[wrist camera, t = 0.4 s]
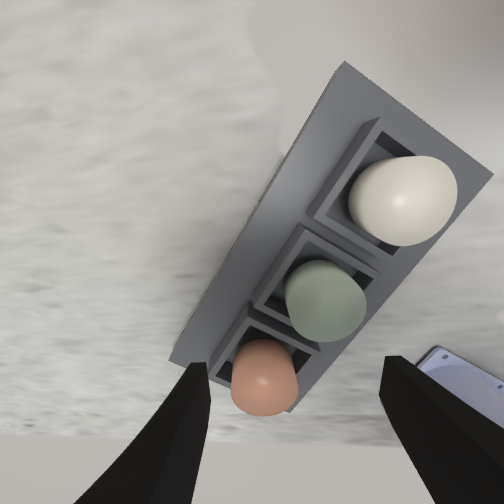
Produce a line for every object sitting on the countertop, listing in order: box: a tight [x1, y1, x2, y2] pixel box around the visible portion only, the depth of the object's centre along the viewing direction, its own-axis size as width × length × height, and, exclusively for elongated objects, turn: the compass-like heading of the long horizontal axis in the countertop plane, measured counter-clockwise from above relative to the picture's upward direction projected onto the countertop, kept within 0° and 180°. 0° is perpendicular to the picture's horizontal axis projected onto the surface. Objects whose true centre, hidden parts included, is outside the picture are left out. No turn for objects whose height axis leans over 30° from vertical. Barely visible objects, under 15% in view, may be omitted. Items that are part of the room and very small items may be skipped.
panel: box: [168, 61, 494, 413], centre depth 18 cm, size 12×24×4 cm, turn 150°
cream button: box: [348, 156, 457, 246], centre depth 13 cm, size 4×4×2 cm
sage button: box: [284, 260, 367, 342], centre depth 15 cm, size 4×4×2 cm
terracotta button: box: [231, 339, 298, 416], centre depth 17 cm, size 4×4×2 cm
